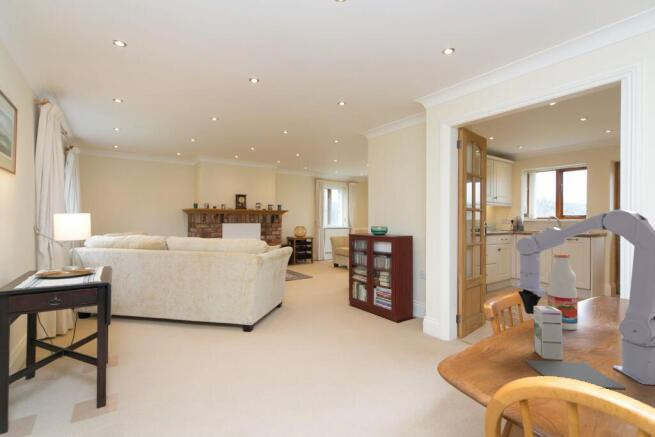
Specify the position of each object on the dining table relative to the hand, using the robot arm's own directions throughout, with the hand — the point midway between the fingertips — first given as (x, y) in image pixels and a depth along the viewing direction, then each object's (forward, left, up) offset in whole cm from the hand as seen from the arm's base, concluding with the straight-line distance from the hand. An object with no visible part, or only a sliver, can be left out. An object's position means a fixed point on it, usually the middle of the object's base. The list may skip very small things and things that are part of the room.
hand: (529, 313), depth 107 cm
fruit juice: (+19, -22, -10) cm, 31 cm away
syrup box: (-10, 0, -10) cm, 14 cm away
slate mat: (-22, +1, -10) cm, 24 cm away
